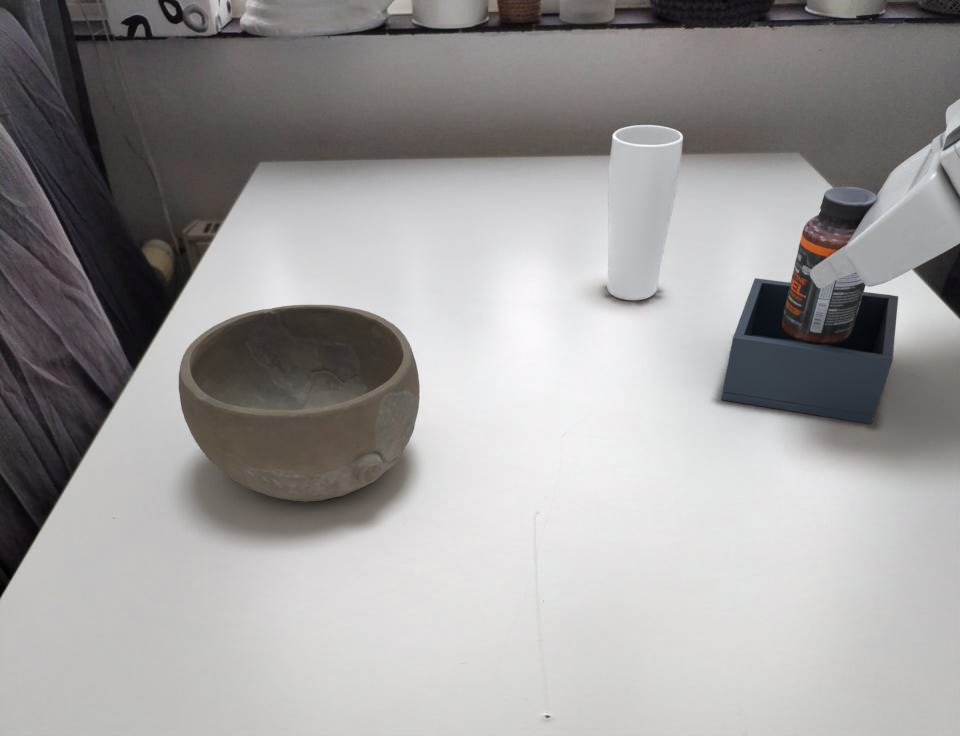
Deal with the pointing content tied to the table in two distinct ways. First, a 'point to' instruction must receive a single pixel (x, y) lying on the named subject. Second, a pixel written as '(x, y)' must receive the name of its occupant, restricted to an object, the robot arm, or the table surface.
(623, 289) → the drinking glass
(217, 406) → the bowl
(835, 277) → the robot arm
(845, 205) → the supplement bottle
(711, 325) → the table surface
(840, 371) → the bin
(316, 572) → the table surface
